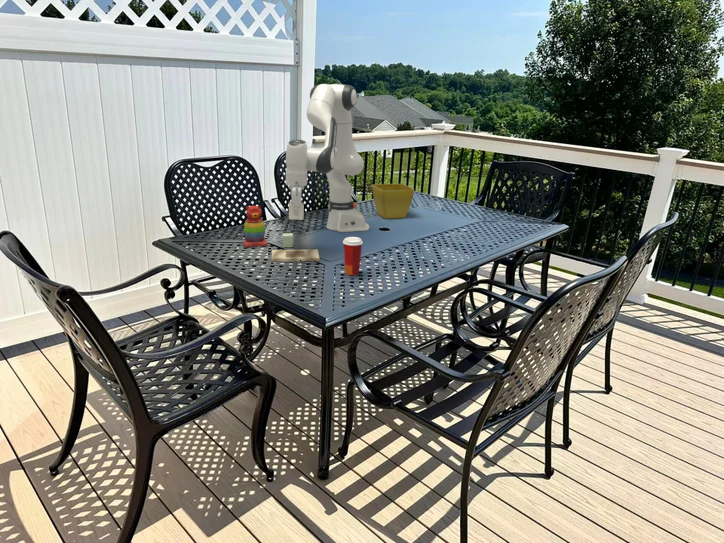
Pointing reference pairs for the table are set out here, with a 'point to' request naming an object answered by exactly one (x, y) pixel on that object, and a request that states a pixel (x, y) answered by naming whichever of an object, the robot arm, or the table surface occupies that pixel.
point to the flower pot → (392, 199)
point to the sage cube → (287, 239)
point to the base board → (295, 255)
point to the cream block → (300, 213)
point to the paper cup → (352, 255)
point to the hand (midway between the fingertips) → (296, 213)
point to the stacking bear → (254, 228)
